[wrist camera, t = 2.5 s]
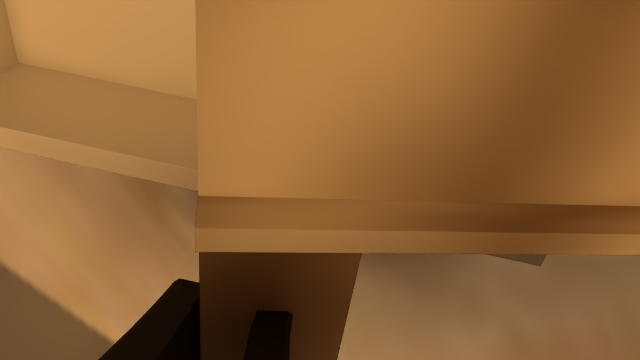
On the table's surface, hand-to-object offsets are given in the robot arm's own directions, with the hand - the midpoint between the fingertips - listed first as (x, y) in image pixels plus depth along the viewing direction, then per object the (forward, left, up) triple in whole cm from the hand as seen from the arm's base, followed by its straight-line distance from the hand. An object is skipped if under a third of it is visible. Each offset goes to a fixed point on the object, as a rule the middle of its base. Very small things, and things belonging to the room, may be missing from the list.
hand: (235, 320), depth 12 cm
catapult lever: (-5, -4, -2) cm, 6 cm away
